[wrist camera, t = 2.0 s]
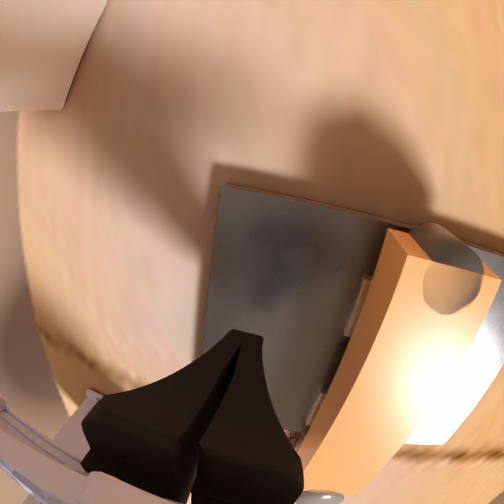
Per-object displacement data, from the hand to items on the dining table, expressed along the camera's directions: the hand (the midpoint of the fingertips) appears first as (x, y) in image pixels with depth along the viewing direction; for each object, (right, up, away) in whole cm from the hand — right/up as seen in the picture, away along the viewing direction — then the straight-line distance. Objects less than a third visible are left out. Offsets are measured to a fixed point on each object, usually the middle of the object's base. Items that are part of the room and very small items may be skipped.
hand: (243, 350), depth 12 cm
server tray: (+6, -3, +4) cm, 8 cm away
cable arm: (+6, -3, +2) cm, 7 cm away
